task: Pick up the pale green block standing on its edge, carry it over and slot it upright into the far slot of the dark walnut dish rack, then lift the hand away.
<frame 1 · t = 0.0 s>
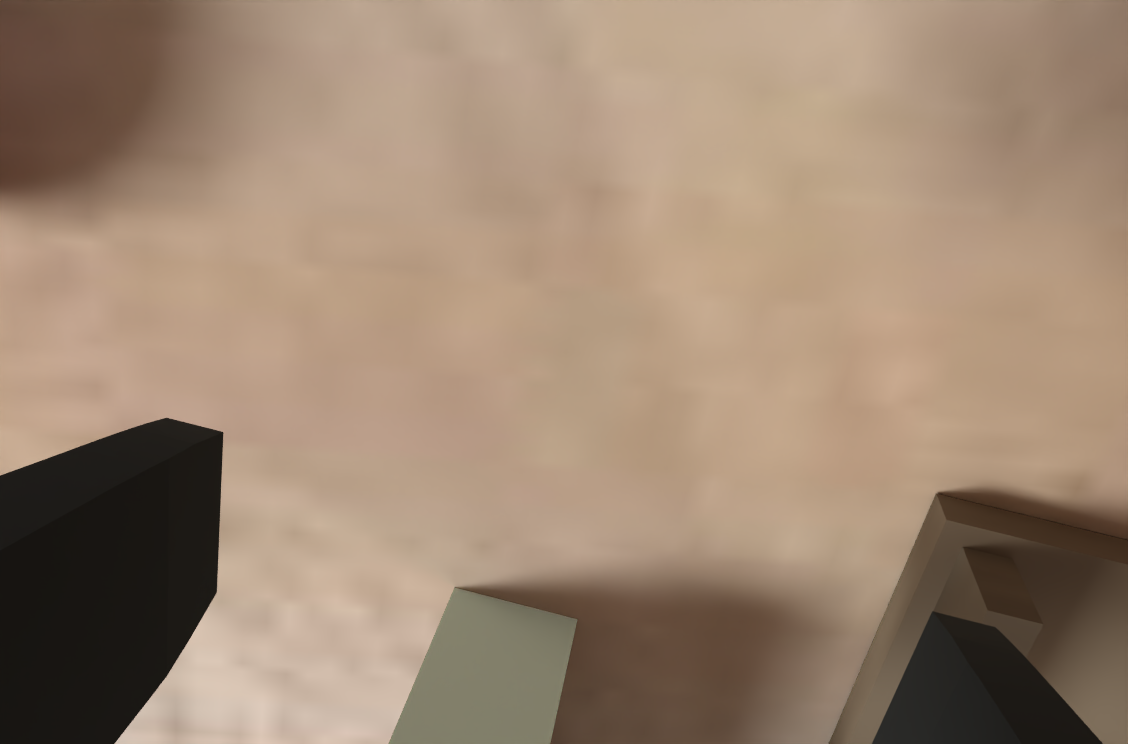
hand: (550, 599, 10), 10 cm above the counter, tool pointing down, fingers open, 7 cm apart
pale green block: (487, 737, 24), on the counter
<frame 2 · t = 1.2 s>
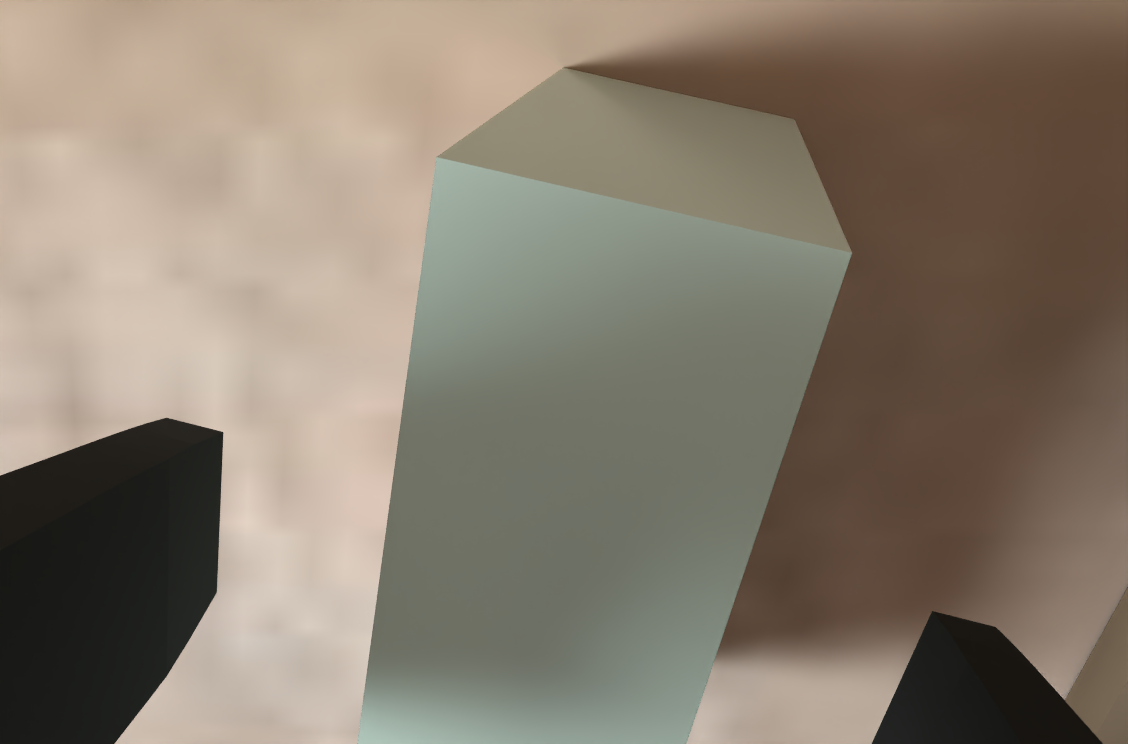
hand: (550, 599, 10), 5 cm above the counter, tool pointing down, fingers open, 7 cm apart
pale green block: (605, 400, 14), on the counter
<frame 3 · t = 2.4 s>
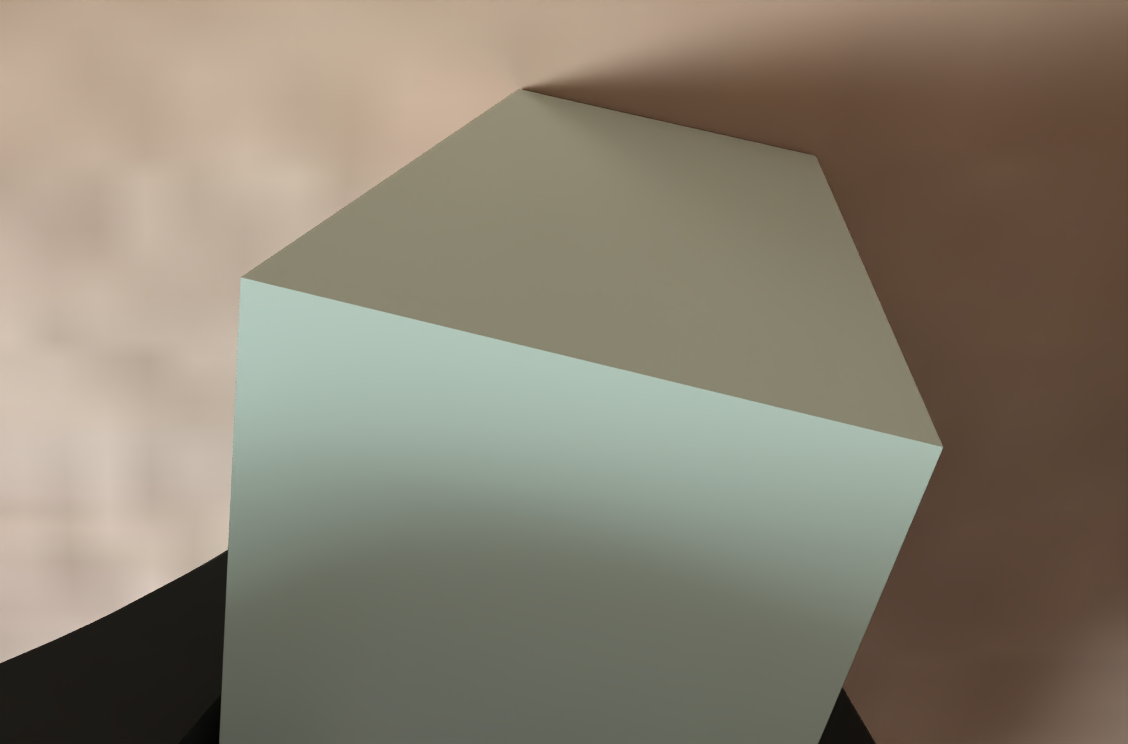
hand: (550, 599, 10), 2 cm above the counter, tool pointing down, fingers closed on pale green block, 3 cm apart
pale green block: (577, 499, 11), on the counter, touching gripper
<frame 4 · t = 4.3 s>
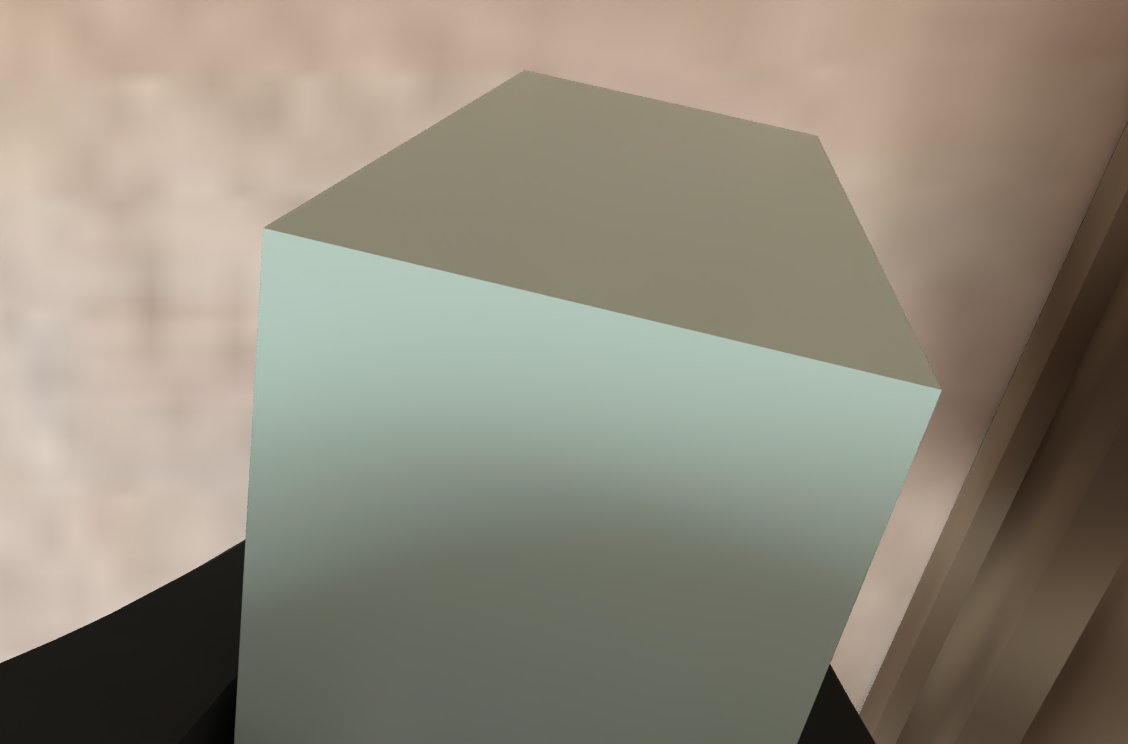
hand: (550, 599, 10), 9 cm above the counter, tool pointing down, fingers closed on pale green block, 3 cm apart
pale green block: (581, 478, 11), point 7 cm above the counter, touching gripper
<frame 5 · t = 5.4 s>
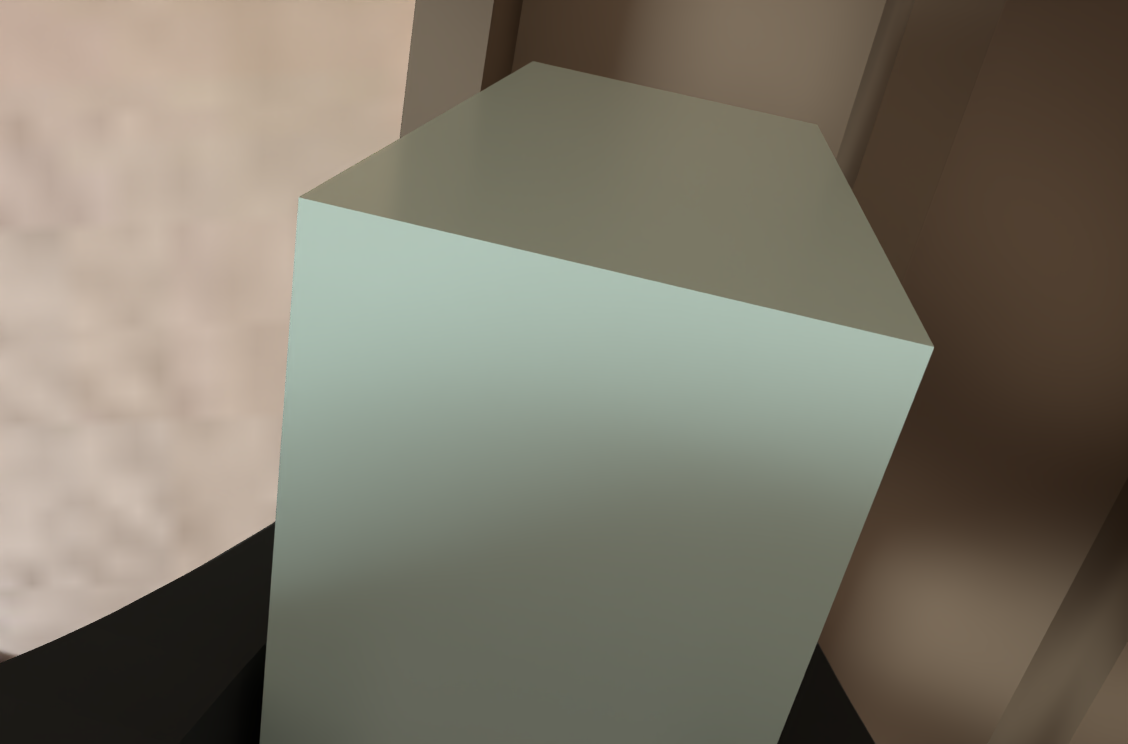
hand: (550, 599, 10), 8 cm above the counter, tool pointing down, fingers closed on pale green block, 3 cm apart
rack: (792, 363, 16), on the counter
pale green block: (587, 461, 12), point 5 cm above the counter, touching gripper
when the fingers open (4 cm above the counter, at t = 6.3 s): pale green block stays where it is, resting on rack.
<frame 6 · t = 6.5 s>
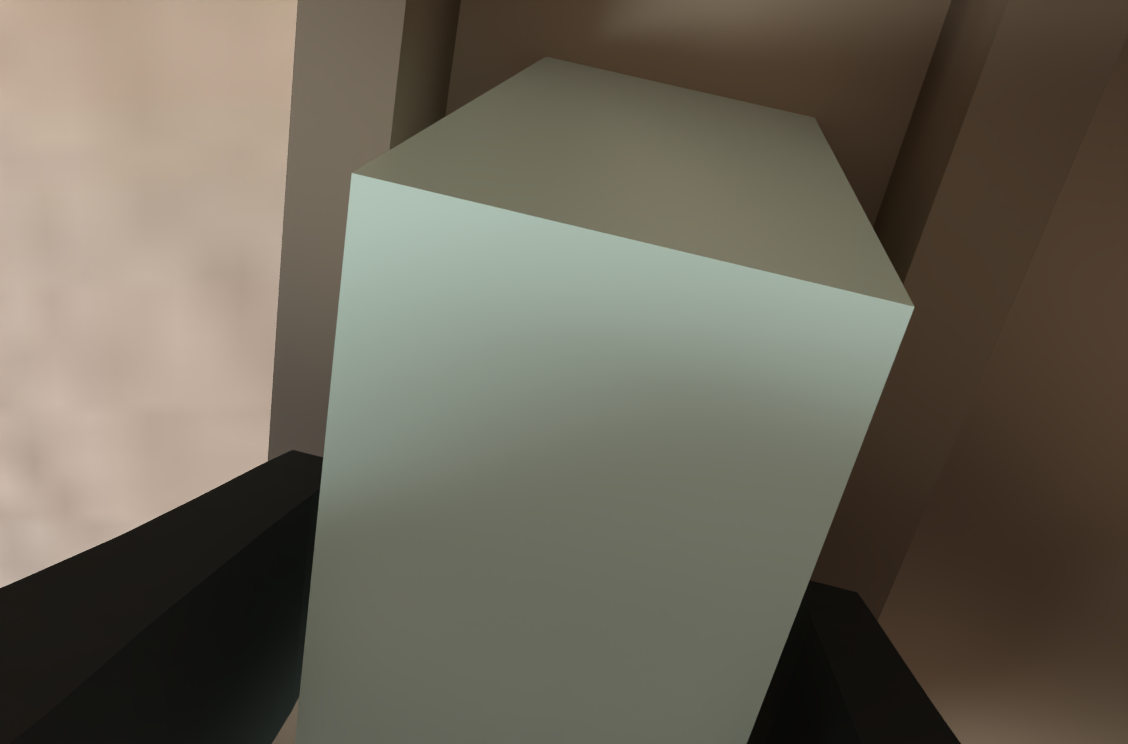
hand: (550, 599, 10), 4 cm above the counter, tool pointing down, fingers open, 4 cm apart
rack: (811, 469, 13), on the counter
pale green block: (593, 439, 12), point 1 cm above the counter, touching rack
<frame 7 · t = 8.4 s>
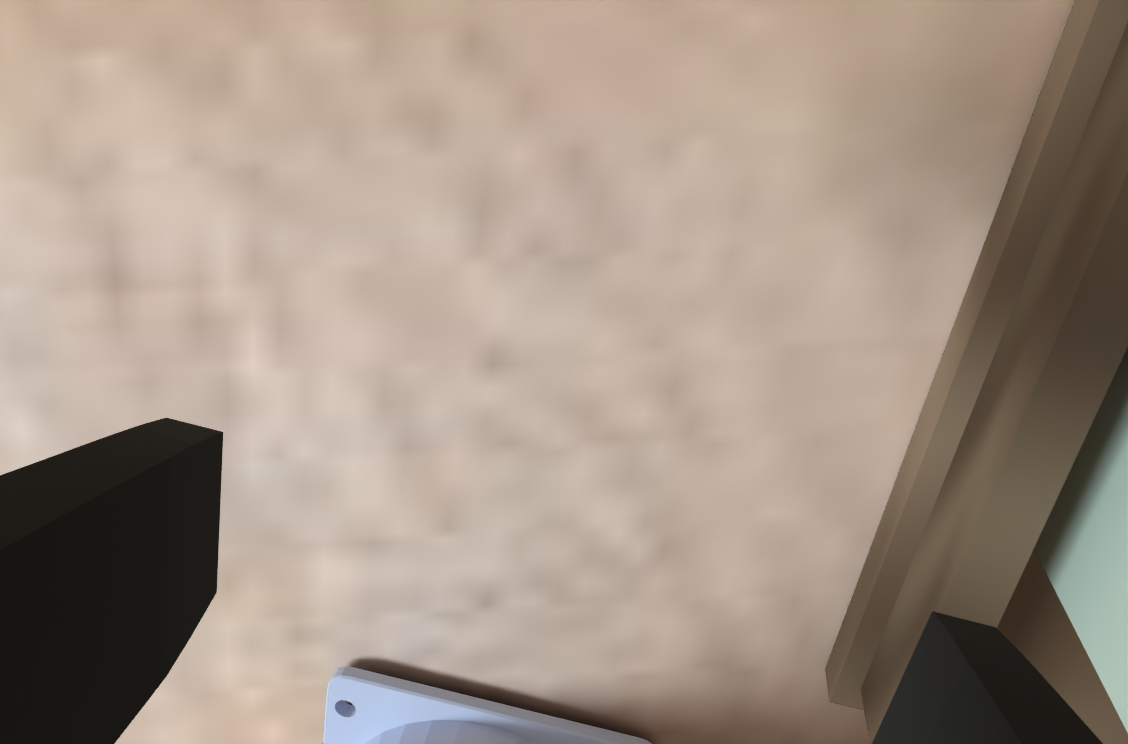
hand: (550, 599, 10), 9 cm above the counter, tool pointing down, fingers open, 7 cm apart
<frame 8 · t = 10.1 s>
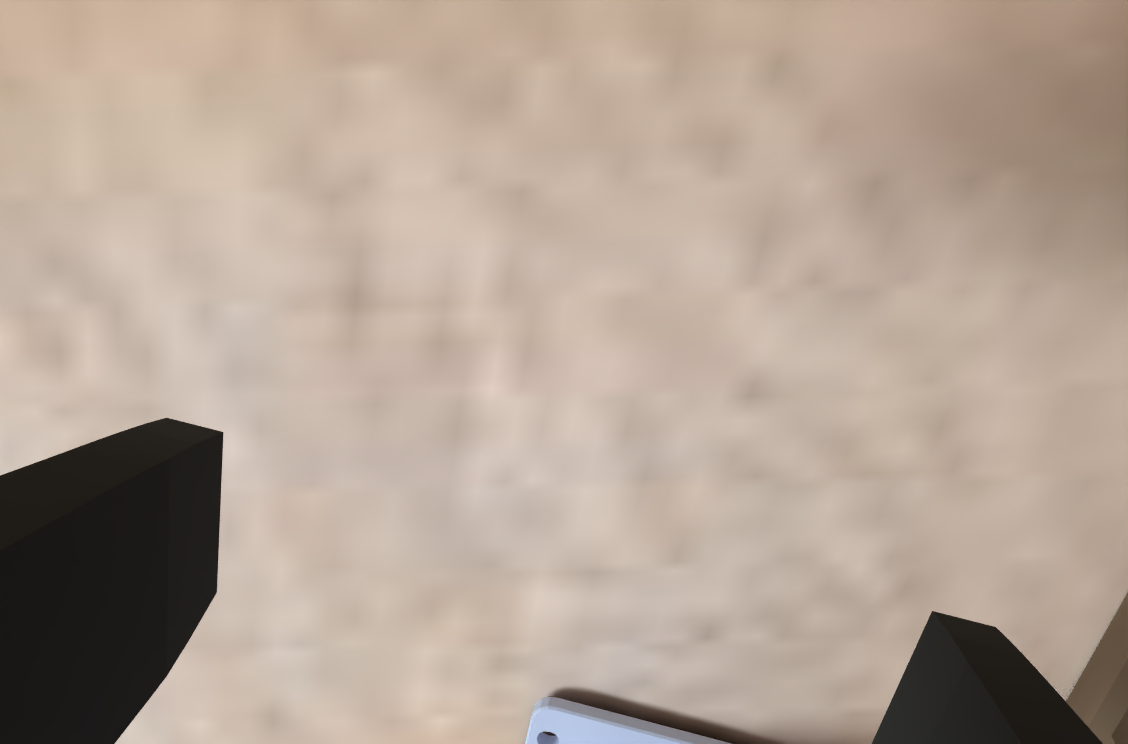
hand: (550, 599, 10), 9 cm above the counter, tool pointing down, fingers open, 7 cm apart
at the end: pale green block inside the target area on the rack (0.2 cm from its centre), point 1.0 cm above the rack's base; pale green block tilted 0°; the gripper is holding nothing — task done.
